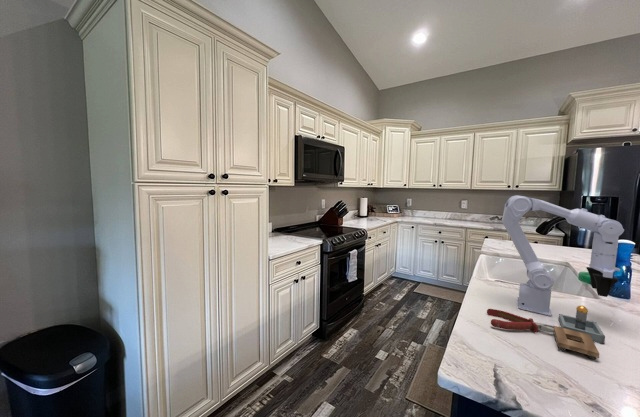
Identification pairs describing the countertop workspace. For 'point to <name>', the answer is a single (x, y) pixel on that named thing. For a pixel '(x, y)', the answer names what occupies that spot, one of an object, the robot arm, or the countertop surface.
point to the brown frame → (584, 347)
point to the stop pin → (581, 317)
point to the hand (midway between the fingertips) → (599, 292)
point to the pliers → (517, 322)
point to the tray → (590, 329)
